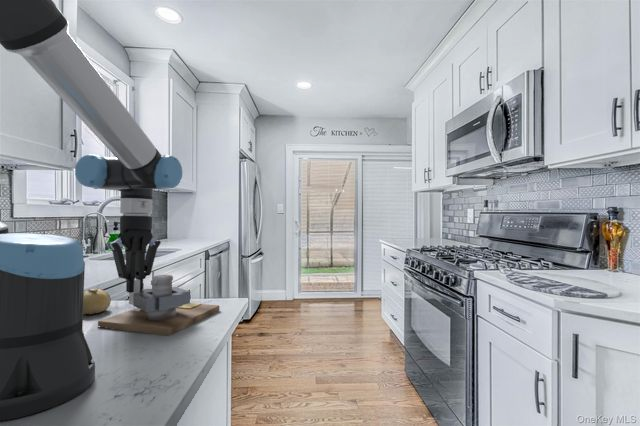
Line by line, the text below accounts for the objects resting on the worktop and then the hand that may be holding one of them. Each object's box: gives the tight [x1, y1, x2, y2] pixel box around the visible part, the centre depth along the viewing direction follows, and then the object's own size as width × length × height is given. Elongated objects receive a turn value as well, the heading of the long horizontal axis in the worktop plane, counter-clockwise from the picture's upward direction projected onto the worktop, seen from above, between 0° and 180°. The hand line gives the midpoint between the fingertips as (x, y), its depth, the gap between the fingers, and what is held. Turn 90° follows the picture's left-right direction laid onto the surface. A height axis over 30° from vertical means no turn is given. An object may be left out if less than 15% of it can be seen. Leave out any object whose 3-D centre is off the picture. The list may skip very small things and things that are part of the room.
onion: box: [83, 287, 112, 315], centre depth 89 cm, size 8×8×7 cm
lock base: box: [97, 274, 220, 337], centre depth 84 cm, size 20×20×12 cm
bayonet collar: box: [133, 286, 191, 312], centre depth 83 cm, size 17×10×5 cm, turn 48°
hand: (134, 303), depth 86 cm, fingers closed
